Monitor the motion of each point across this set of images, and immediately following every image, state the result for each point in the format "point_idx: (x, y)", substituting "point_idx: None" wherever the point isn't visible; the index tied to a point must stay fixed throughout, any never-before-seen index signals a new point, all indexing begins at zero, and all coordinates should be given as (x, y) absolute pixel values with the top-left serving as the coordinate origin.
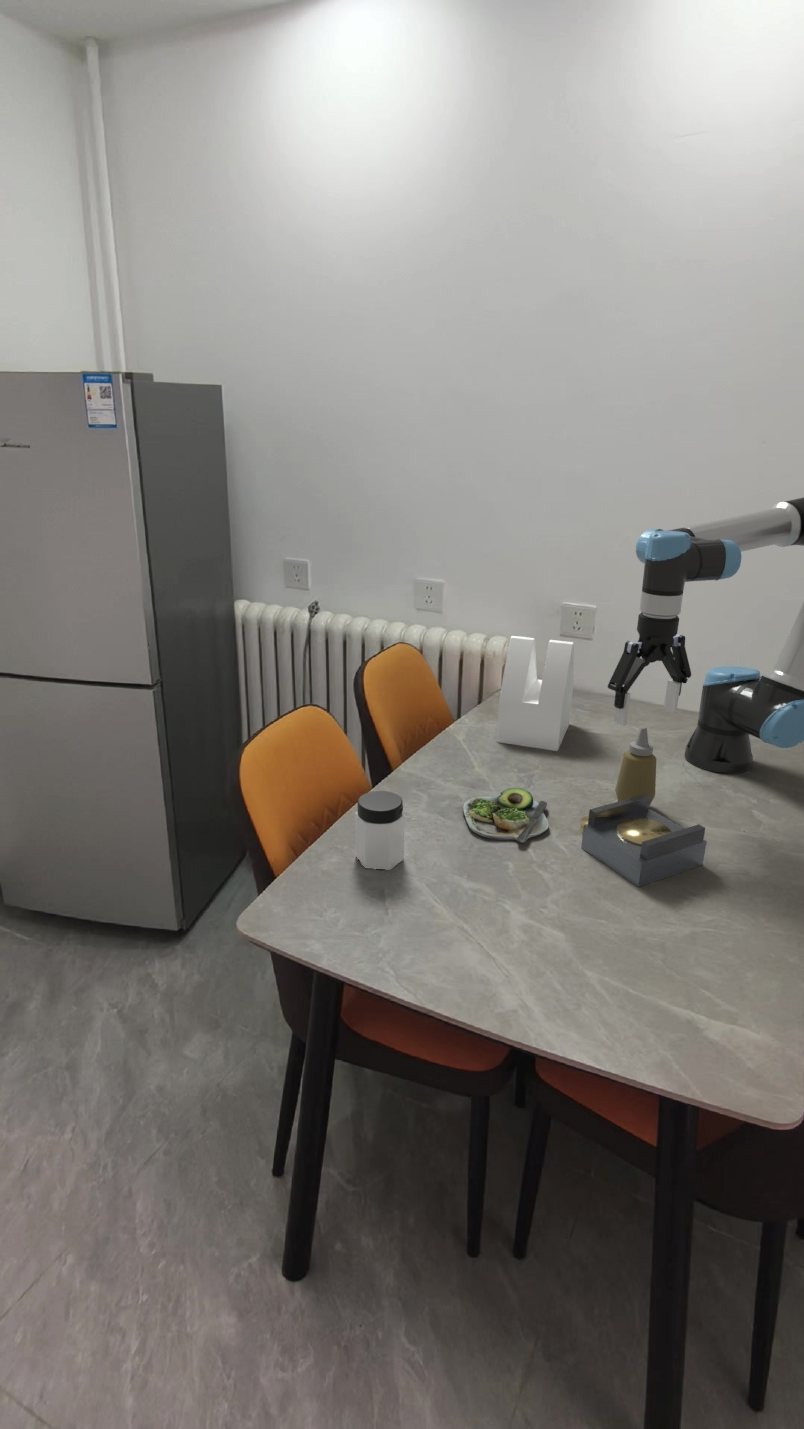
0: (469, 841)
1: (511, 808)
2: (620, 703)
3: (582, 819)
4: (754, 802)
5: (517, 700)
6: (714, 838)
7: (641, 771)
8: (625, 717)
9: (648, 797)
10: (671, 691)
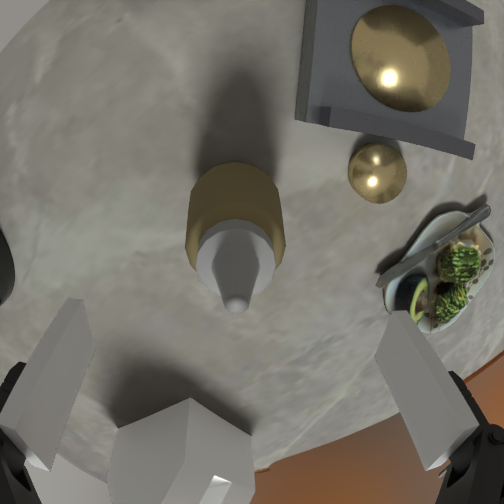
0: (500, 251)
1: (455, 276)
2: (464, 391)
3: (389, 198)
4: (13, 106)
5: (236, 485)
6: (195, 21)
7: (267, 199)
8: (419, 333)
9: (334, 109)
10: (52, 405)
